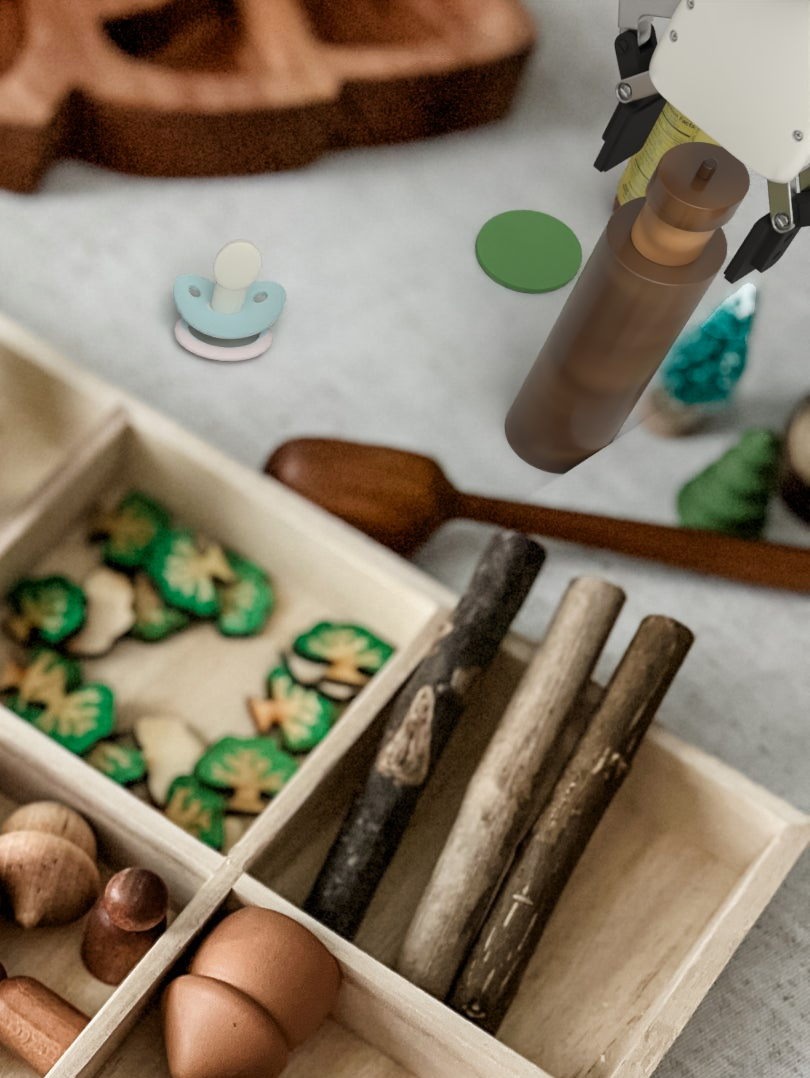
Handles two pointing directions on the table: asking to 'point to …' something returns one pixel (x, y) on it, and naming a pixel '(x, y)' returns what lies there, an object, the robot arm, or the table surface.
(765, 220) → the robot arm
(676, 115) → the sauce bottle
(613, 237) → the brown cylinder
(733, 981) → the table surface
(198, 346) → the pacifier
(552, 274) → the coaster
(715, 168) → the stemmed brown cap
